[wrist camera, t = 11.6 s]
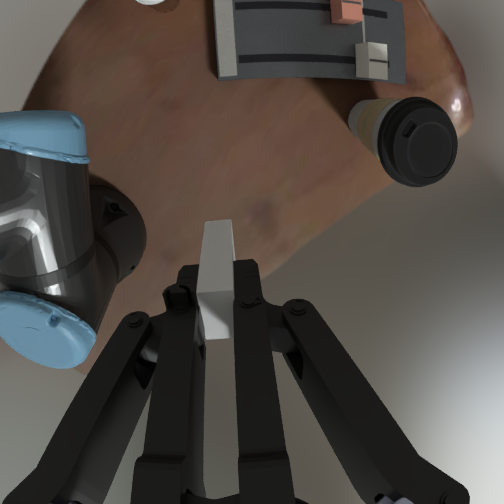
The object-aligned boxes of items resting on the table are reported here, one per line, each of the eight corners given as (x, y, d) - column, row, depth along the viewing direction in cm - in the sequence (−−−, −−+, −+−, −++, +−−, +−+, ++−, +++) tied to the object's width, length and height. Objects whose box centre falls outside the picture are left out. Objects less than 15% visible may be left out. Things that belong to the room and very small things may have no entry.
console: (219, 80, 35) (218, 80, 33) (212, -6, 29) (212, -10, 27) (398, 83, 36) (405, 84, 34) (395, 4, 29) (402, 2, 28)
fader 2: (356, 77, 33) (369, 78, 30) (355, 44, 31) (368, 41, 28) (373, 78, 34) (387, 79, 30) (372, 46, 31) (387, 44, 28)
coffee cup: (340, 81, 36) (394, 88, 23) (402, 95, 37) (470, 113, 24) (331, 149, 41) (377, 187, 28) (391, 158, 41) (451, 197, 29)
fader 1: (331, 23, 30) (342, 18, 26) (329, -8, 27) (340, -16, 24) (350, 24, 30) (363, 20, 26) (348, -6, 28) (360, -13, 24)
